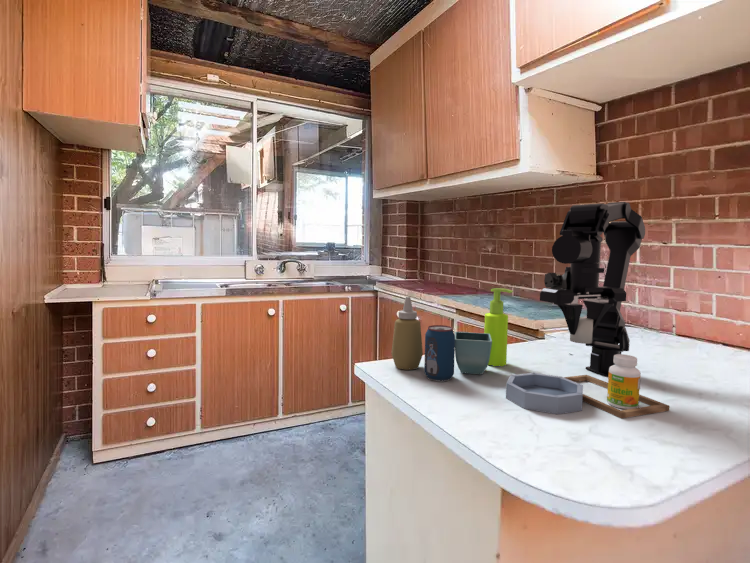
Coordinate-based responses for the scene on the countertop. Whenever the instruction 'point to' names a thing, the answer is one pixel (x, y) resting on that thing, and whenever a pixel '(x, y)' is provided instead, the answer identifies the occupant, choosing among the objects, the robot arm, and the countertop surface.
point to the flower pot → (472, 351)
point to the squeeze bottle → (407, 339)
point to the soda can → (439, 353)
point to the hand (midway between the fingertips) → (581, 333)
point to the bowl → (545, 393)
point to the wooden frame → (653, 408)
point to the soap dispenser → (497, 329)
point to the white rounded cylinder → (583, 331)
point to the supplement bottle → (624, 382)
